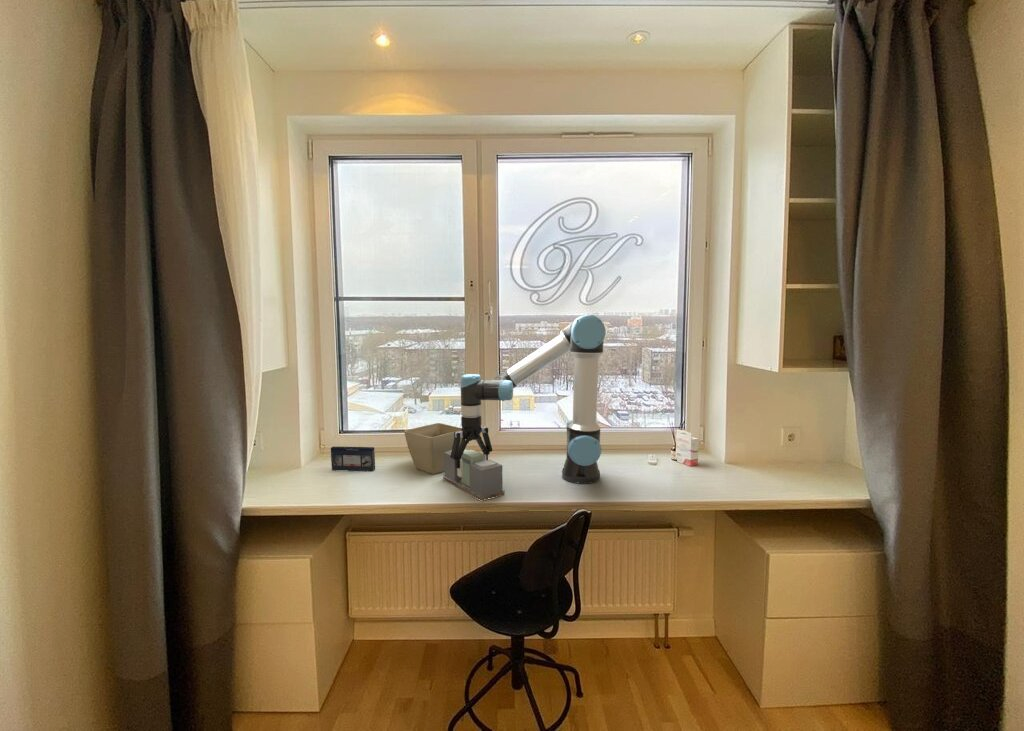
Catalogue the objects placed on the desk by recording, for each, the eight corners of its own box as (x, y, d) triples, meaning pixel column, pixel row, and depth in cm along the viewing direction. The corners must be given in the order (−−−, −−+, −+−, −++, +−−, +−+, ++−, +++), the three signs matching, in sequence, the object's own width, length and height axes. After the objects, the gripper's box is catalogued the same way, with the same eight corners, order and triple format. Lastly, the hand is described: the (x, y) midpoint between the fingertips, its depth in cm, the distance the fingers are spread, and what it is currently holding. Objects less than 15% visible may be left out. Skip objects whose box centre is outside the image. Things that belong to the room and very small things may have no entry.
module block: (472, 479, 176) (472, 449, 175) (483, 485, 170) (483, 454, 168) (461, 482, 173) (460, 451, 172) (472, 488, 167) (471, 457, 165)
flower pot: (404, 468, 193) (403, 430, 191) (439, 458, 207) (438, 422, 205) (431, 479, 180) (430, 437, 178) (467, 467, 194) (466, 428, 192)
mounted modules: (464, 471, 185) (463, 446, 184) (502, 491, 163) (502, 463, 162) (444, 476, 179) (444, 450, 178) (481, 497, 158) (481, 468, 157)
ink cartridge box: (698, 465, 195) (699, 431, 193) (690, 466, 192) (691, 433, 191) (682, 459, 202) (683, 427, 201) (674, 461, 200) (675, 428, 198)
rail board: (464, 473, 186) (464, 469, 185) (504, 494, 163) (504, 490, 163) (443, 478, 180) (443, 475, 179) (481, 501, 157) (481, 497, 157)
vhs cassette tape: (331, 470, 191) (330, 447, 190) (334, 468, 194) (333, 445, 193) (372, 472, 189) (371, 449, 187) (375, 469, 191) (374, 446, 190)
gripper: (490, 410, 178) (491, 464, 181) (439, 417, 165) (441, 476, 167) (501, 413, 172) (501, 469, 175) (449, 421, 159) (450, 482, 161)
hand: (472, 473), depth 171 cm, fingers open, 10 cm apart
